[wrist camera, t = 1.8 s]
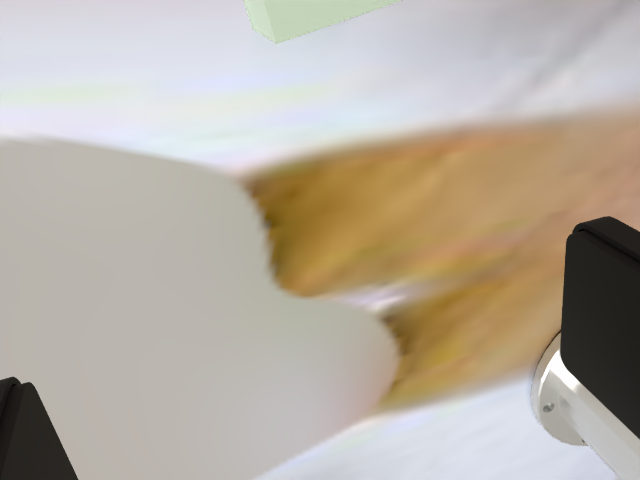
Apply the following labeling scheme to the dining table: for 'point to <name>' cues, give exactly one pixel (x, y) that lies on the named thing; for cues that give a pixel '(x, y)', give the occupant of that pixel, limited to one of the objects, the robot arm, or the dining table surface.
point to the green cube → (303, 15)
